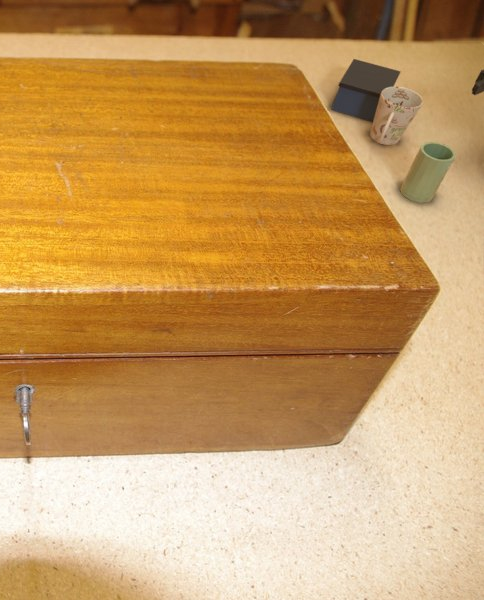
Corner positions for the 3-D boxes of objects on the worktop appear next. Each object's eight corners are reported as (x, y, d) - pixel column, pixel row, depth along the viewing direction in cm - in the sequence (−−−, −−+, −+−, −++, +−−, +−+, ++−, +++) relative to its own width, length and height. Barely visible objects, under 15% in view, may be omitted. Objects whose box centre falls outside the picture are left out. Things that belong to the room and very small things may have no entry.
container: (388, 98, 165) (400, 71, 160) (376, 123, 158) (388, 96, 152) (343, 85, 169) (353, 58, 164) (329, 109, 161) (339, 82, 156)
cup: (435, 189, 142) (458, 148, 134) (429, 206, 138) (452, 164, 131) (403, 179, 144) (424, 138, 136) (397, 195, 140) (418, 154, 133)
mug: (407, 134, 155) (426, 93, 148) (395, 162, 148) (415, 121, 140) (369, 122, 158) (386, 82, 151) (355, 150, 150) (372, 109, 143)
